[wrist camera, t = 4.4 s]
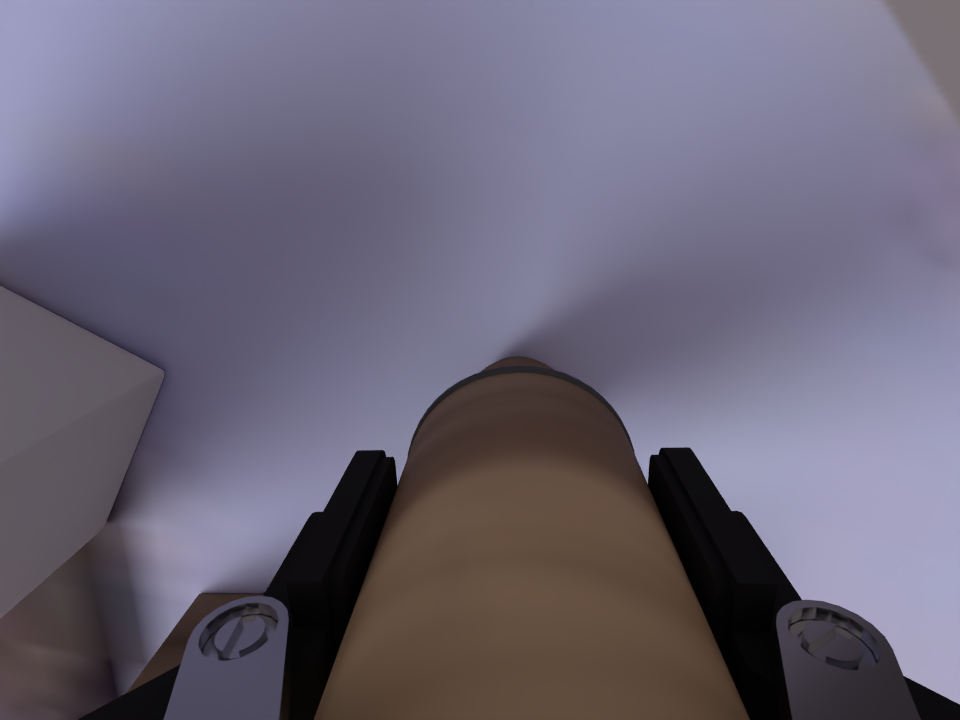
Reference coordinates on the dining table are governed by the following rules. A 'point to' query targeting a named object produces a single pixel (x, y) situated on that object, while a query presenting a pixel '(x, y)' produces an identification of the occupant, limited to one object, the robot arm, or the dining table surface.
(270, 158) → the dining table surface
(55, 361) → the milk carton
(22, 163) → the dining table surface
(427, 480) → the oak peg
